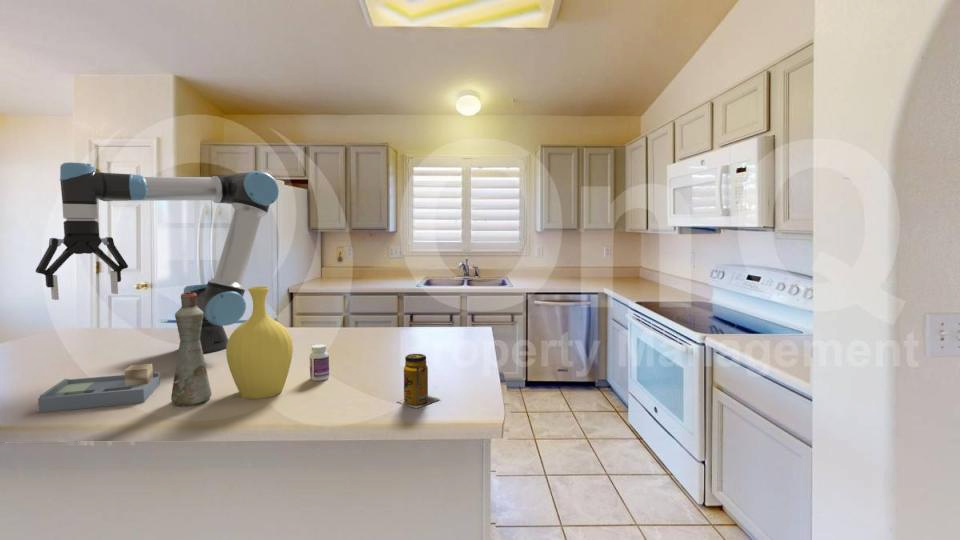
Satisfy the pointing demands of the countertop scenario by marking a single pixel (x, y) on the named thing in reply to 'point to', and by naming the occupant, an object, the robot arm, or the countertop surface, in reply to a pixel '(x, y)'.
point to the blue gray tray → (95, 393)
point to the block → (138, 374)
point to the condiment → (416, 382)
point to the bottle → (190, 356)
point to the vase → (259, 352)
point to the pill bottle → (319, 363)
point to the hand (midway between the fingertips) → (86, 296)
